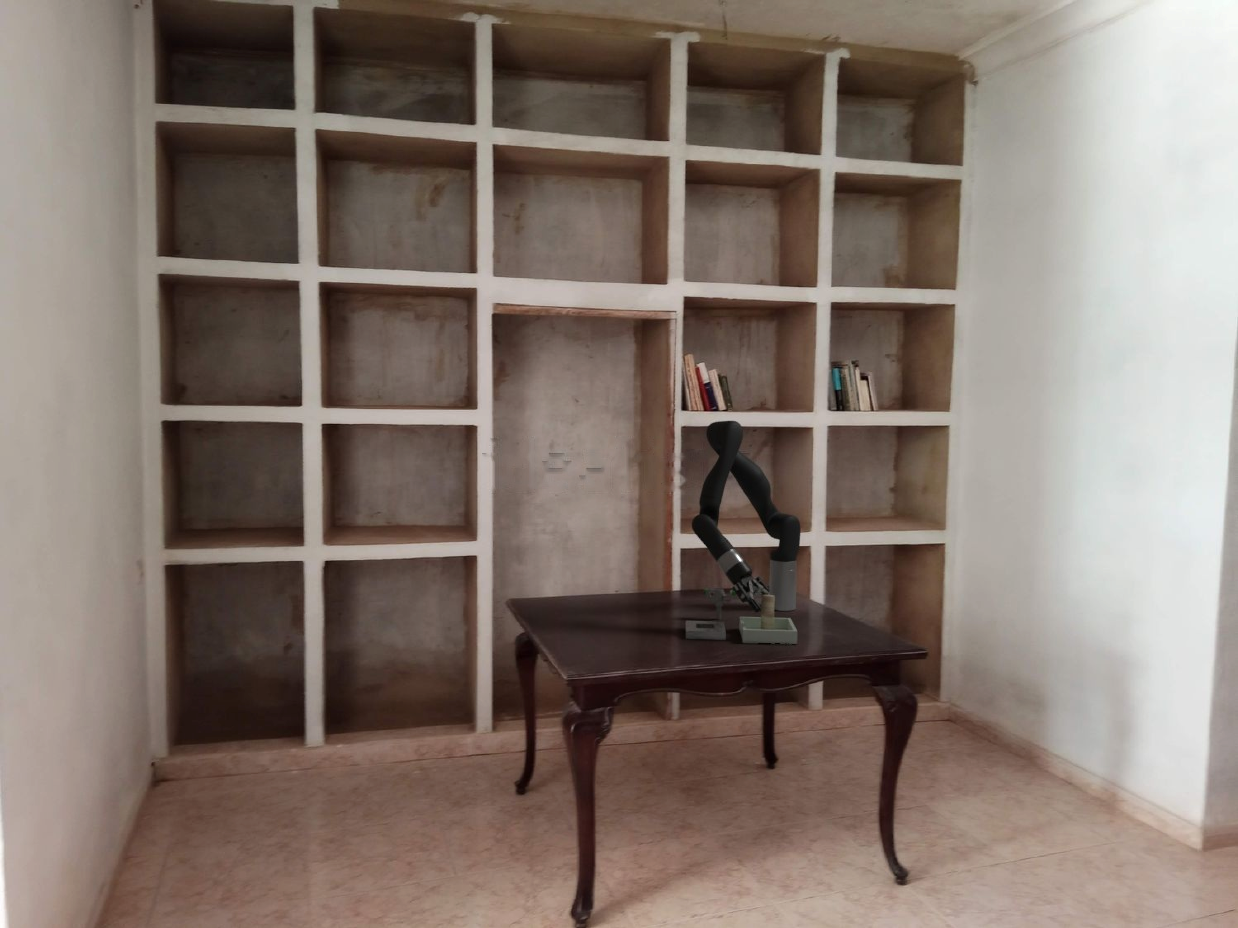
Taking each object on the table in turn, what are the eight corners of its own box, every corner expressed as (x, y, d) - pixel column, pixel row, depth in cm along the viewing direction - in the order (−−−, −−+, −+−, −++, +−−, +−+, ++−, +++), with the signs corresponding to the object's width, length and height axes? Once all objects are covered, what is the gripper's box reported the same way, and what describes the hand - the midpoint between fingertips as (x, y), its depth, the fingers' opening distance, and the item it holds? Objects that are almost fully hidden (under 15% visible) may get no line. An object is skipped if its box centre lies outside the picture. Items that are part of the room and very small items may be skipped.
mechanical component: (733, 621, 280) (734, 591, 279) (702, 619, 282) (703, 589, 281) (734, 618, 283) (734, 589, 282) (703, 617, 285) (704, 587, 284)
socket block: (685, 628, 270) (685, 620, 270) (723, 629, 269) (723, 621, 269) (685, 638, 258) (685, 630, 258) (725, 639, 257) (725, 631, 257)
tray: (739, 629, 270) (739, 616, 270) (790, 630, 269) (790, 617, 269) (742, 642, 254) (743, 629, 254) (797, 644, 253) (797, 631, 253)
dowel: (759, 632, 264) (761, 594, 263) (772, 633, 263) (774, 594, 263) (761, 635, 260) (762, 597, 259) (774, 636, 259) (775, 597, 259)
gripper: (730, 562, 260) (762, 605, 254) (753, 556, 271) (785, 597, 265) (715, 577, 264) (746, 619, 258) (738, 570, 275) (769, 611, 269)
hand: (766, 608), depth 261 cm, fingers open, 8 cm apart
